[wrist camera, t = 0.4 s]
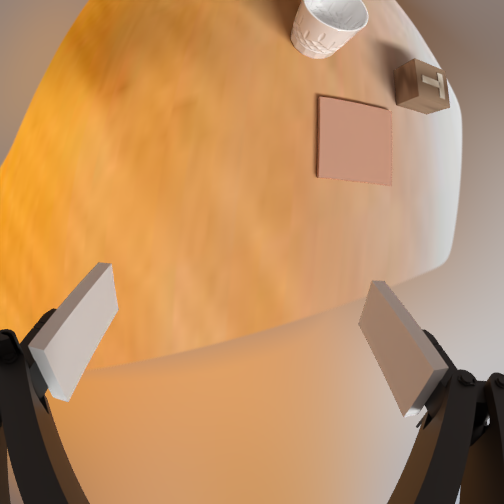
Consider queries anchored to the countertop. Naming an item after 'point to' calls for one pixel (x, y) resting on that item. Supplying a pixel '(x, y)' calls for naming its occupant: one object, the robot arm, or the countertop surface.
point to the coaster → (354, 142)
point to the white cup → (326, 25)
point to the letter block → (421, 87)
